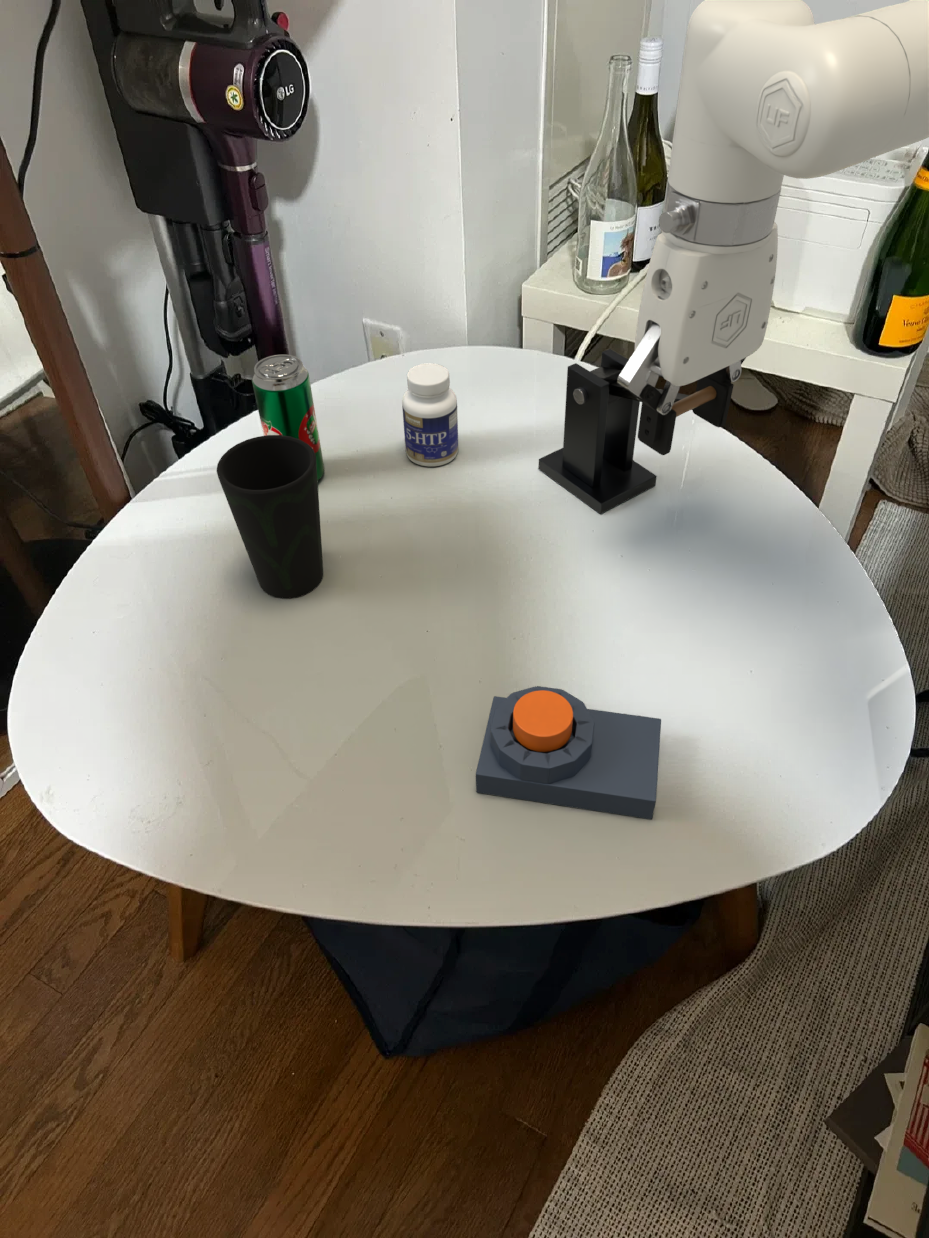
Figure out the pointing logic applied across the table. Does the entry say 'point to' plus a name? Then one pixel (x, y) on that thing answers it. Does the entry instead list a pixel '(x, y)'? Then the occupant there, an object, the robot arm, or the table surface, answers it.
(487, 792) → the control block
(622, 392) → the lever
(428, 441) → the pill bottle
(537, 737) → the button
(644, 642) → the table surface
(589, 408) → the switch bracket
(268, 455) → the cup
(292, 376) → the soda can
